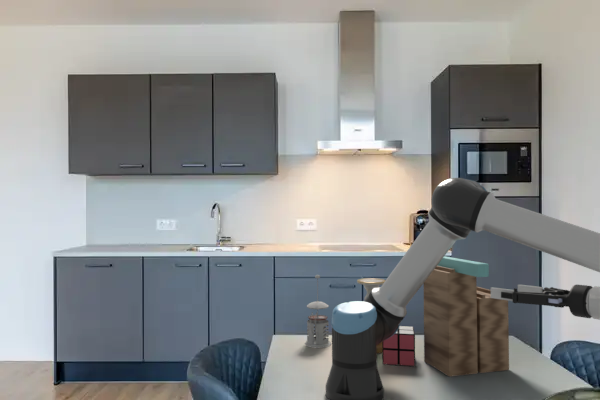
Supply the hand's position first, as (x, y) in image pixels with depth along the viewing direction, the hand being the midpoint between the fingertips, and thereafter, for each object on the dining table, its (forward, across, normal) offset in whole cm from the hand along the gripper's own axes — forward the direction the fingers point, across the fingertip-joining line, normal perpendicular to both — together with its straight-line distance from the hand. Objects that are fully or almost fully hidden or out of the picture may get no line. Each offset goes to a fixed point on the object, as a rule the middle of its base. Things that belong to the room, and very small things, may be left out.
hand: (505, 290), depth 124 cm
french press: (+64, -13, -26) cm, 70 cm away
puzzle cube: (+34, -3, -26) cm, 43 cm away
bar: (+16, +2, +4) cm, 16 cm away
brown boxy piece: (+18, +10, -26) cm, 33 cm away
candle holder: (+48, -1, -26) cm, 55 cm away
